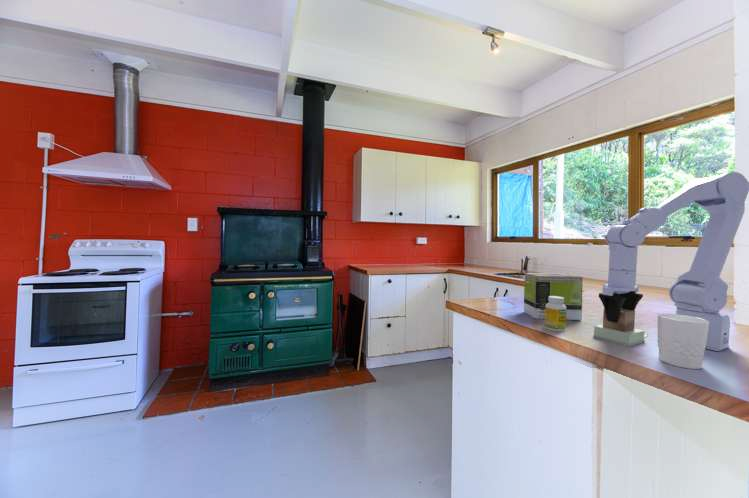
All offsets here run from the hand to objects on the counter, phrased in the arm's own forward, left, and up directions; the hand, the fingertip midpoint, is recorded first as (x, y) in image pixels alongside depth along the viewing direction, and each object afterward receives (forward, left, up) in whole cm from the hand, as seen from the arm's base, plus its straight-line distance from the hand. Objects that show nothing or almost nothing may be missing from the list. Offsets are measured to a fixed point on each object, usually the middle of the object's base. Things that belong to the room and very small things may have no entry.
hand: (619, 320), depth 82 cm
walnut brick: (0, 0, -2) cm, 2 cm away
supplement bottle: (+13, +7, -5) cm, 16 cm away
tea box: (+23, -7, -6) cm, 25 cm away
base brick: (0, 0, -5) cm, 5 cm away
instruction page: (+2, -8, -5) cm, 10 cm away
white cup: (-14, +6, -6) cm, 16 cm away
